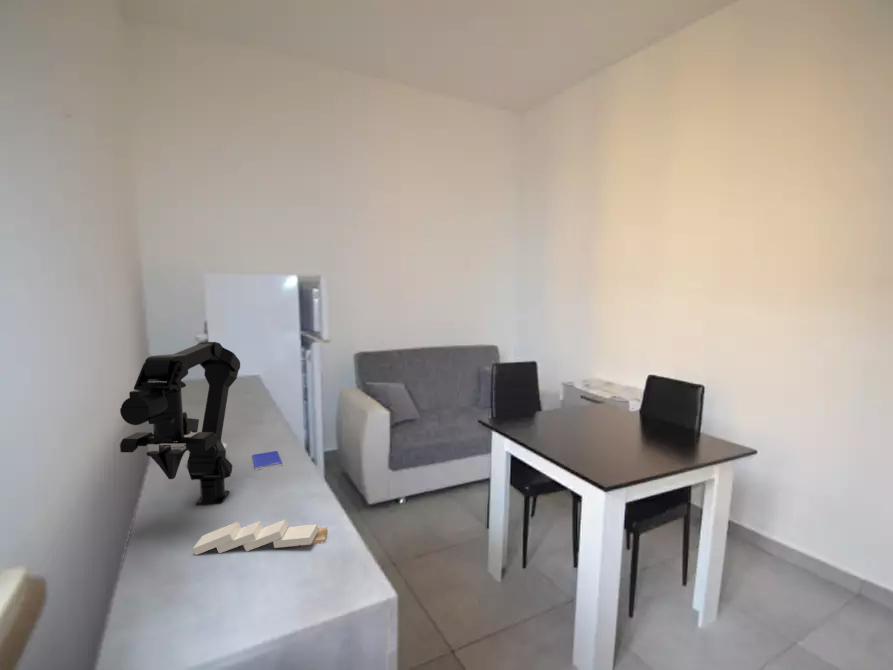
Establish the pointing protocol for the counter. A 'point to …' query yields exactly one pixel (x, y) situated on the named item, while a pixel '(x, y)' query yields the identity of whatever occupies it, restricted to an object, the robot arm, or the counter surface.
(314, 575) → the counter surface
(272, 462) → the hard drive
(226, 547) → the domino
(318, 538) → the maple domino
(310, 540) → the domino
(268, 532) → the domino
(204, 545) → the domino
